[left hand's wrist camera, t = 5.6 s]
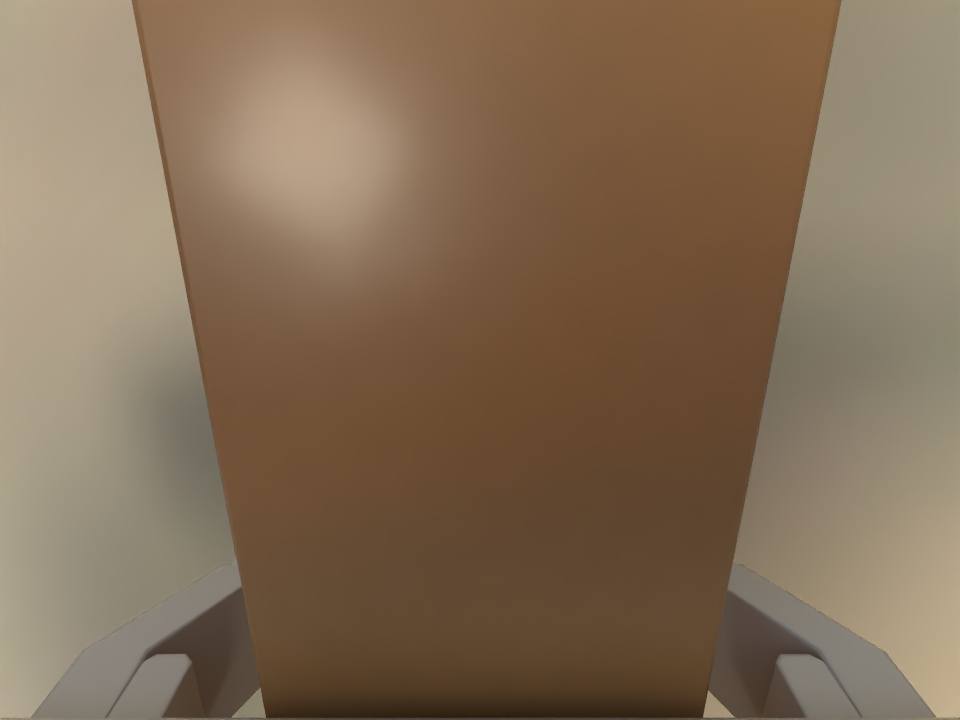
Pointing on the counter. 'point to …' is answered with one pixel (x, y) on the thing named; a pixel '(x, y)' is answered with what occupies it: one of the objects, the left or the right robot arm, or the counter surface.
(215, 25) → the post
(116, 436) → the counter surface
